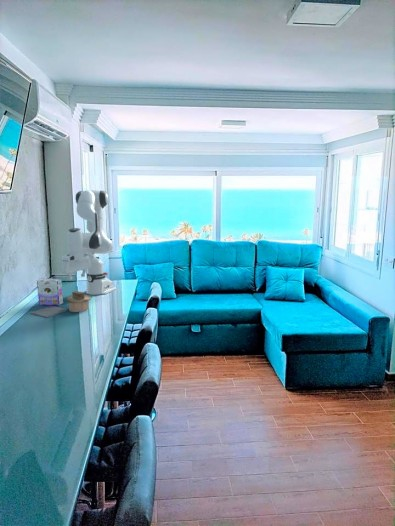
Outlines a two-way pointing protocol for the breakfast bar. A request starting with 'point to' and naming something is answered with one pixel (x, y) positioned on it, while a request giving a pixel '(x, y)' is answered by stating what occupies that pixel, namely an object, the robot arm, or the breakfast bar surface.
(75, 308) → the terracotta bowl
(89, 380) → the breakfast bar surface
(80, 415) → the breakfast bar surface
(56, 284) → the candy box
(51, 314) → the charcoal mat
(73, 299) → the walnut lid
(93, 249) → the robot arm
